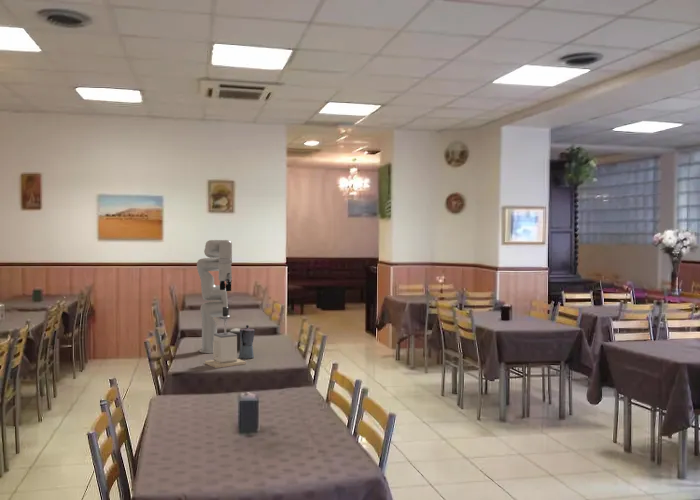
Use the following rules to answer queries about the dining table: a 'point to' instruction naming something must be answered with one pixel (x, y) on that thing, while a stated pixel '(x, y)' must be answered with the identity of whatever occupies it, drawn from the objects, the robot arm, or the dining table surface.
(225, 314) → the plunger
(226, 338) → the white box
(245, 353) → the moka pot
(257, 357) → the dining table surface
